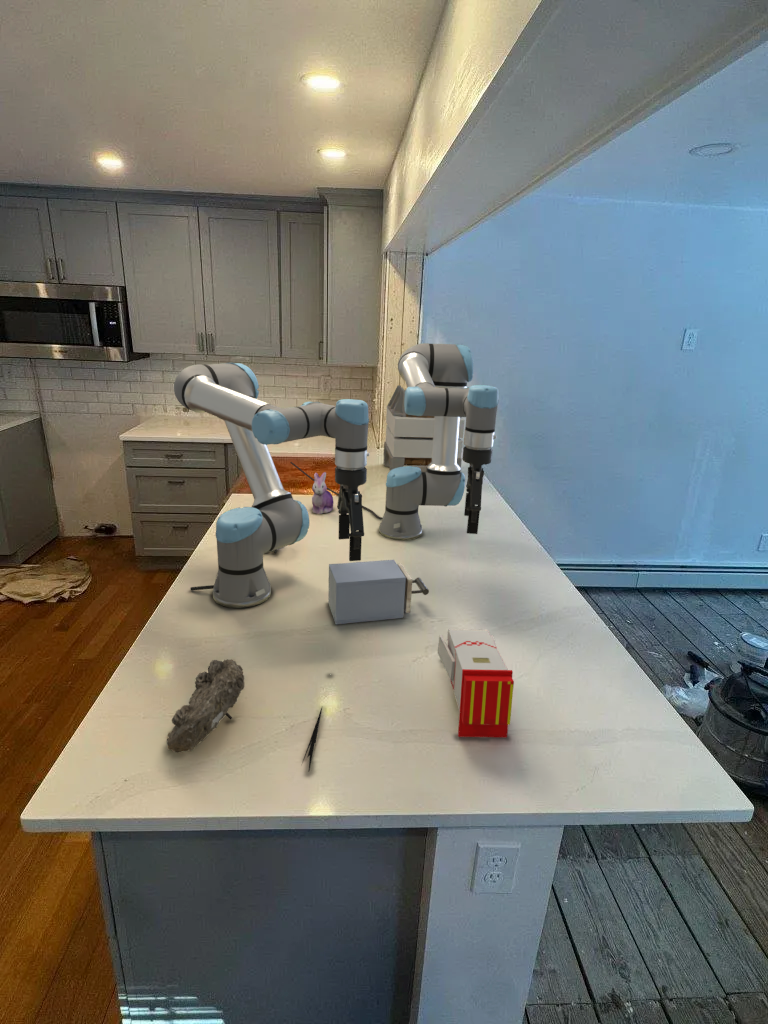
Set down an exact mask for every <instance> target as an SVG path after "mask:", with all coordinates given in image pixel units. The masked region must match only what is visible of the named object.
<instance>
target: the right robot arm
mask: <svg viewBox="0 0 768 1024" xmlns="http://www.w3.org/2000/svg"><path fill="white" fill-rule="evenodd" d="M397 370H398V374H399V376H400V378H401V379H402V380H403V381H404V382H405V385H406V388H405V390H406V391H405V398H404V407H405V413H406V414H408V415H415V416H434V431H433V448H432V462H431V463H430V464H429V465H428V466H426V471H422V469H421V468H420V466H407V465H404V466H403V467H398V468H395V469H392V470H391V471H390V470H388V473H387V475H386V482H385V487H386V488H385V489H386V490H385V504H384V505H385V507H384V508H385V509H384V513H383V515H382V517H381V516H379V515H378V514H376V513H375V511H373V510H372V509H370V508H368V507H366V506H365V505H362V509H364V510H367V511H368V512H370V513H371V514H372V515H373V516H374V517H375V518H377V519H379V520H381V522H379V526H378V533H379V534H380V535H381V536H382V537H385V538H387V539H389V540H395V541H410V540H415V539H418V538H420V537H421V536H422V535H423V525H422V524H421V518H420V515H419V507H420V506H429V507H431V506H432V507H433V506H435V507H436V506H437V507H452V506H457V505H459V504H460V503H461V501H462V499H463V496H464V493H465V490H466V493H465V501H464V513H463V516H464V517H467V524H466V525H467V526H466V534H469V535H471V534H472V535H478V532H479V531H478V530H479V523H480V514H481V511H482V494H483V485H484V483H483V482H484V475H485V470H484V468H483V467H482V466H484V465H486V466H487V465H489V464H491V463H492V462H493V461H492V460H493V451H494V450H493V449H492V448H493V447H494V440H496V439H497V435H496V434H495V431H496V424H497V423H496V422H497V413H498V406H499V402H500V400H499V394H500V393H499V391H500V390H499V388H498V387H496V386H494V385H493V386H492V385H488V384H487V385H486V384H473V385H471V386H468V383H470V382H472V381H473V378H474V358H473V354H472V351H471V348H470V347H469V346H467V345H465V344H458V343H457V344H456V343H428V342H423V343H417V344H415V345H412V346H410V347H409V348H407V349H406V350H404V351H403V352H402V354H401V355H400V357H399V359H398V362H397ZM460 417H461V418H465V426H464V432H463V446H464V447H462V457H461V458H462V461H463V462H464V463H466V464H468V465H469V466H468V467H467V479H466V476H465V474H464V473H463V472H462V467H461V468H460V467H459V466H458V465H457V451H458V437H459V423H460ZM290 464H291V465H292V466H294V467H295V468H296V469H298V470H299V471H300V472H301V473H302V474H304V475H305V476H306V477H307V478H309V479H310V480H312V481H313V482H315V479H314V477H311V476H310V475H309V474H307V472H305V471H304V470H302V469H301V468H300V467H298V465H296V464H295V463H294V462H292V461H290ZM460 471H461V472H460ZM466 480H467V481H466ZM327 491H329V492H330V493H333V494H335V495H336V496H338V497H339V492H336V491H334V490H333V489H331V488H329V487H327Z"/></svg>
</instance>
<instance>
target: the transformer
mask: <svg viewBox="0 0 768 1024" xmlns="http://www.w3.org/2000/svg"><path fill="white" fill-rule="evenodd" d="M405 391H406V389H404V388H403V387H402V385H399V384H398V385H397V386H396V388H395V390H394V392H393V394H392V395H391V398H390V400H389V402H388V404H387V405H386V413H385V414H386V415H385V423H386V428H385V438H384V442H383V466H384V467H388V468H389V471H391V470H392V469H395V468H398V467H403V466H413V467H427V466H428V465H429V464H430V463H431V462H432V448H433V431H434V416H415V415H408V414H406V413H405V407H404V398H405ZM465 422H466V419H464V418H463V417H460V423H459V437H458V451H457V465H458V466H459V467H460V468H461V469H462V461H463V459H462V458H463V457H462V454H463V444H464V440H462V439H464V433H465ZM460 472H462V470H461V471H460Z"/></svg>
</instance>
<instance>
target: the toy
mask: <svg viewBox="0 0 768 1024" xmlns="http://www.w3.org/2000/svg"><path fill="white" fill-rule="evenodd" d="M446 640H447V643H446V641H445V639H444V636H443V635H442V634H439V637H438V646H437V656H438V657H439V659H440V661H441V663H442V666H443V668H444V670H445V672H446V674H447V677H448V679H449V681H450V684H451V687H452V690H453V693H454V697H455V701H456V705H457V708H458V711H459V714H458V715H459V716H458V730H457V731H458V732H457V737H458V738H508V731H509V726H510V725H511V717H512V707H513V697H514V696H513V695H514V684H515V680H514V679H513V673H514V671H513V670H512V669H508V667H507V665H506V662H505V661H504V659H503V658H502V655H501V653H500V651H499V649H498V647H497V643H496V639H495V637H494V635H493V634H491V632H490V631H489V629H467V628H466V629H465V628H463V629H461V628H460V629H459V628H448V630H447V639H446Z"/></svg>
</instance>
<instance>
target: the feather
mask: <svg viewBox="0 0 768 1024" xmlns="http://www.w3.org/2000/svg"><path fill="white" fill-rule="evenodd" d="M329 675H330V676H331V675H332V674H331V673H330V674H329ZM322 710H323V707H321V708H320V710H319V713H318V716H317V719H316V723H315V725H314V728H313V731H312V733H311V737H310V739H309V742H308V745H307V748H306V751H305V754H304V757H303V760H302V763H301V767H302V765H303V763H304V761H305V758H308V759H309V760H308V762H307V763H308V764H307V766H308V771H310V770H311V766H312V765H311V764H312V760H313V757H315V756H314V755H315V751H316V749H315V746H317V739H318V733H319V729H320V722H321V717H322V712H323V711H322ZM313 754H314V755H313ZM306 755H307V757H306Z"/></svg>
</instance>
